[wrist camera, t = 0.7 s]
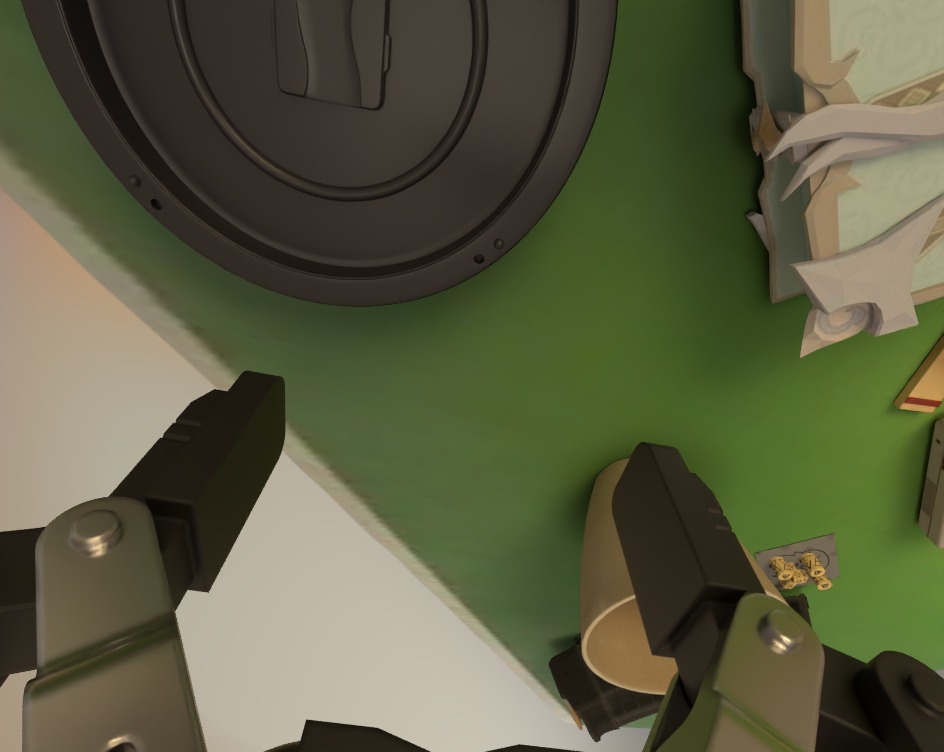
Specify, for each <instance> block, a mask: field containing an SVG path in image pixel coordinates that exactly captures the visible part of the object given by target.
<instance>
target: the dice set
mask: <svg viewBox="0 0 944 752" xmlns="http://www.w3.org/2000/svg"><path fill="white" fill-rule="evenodd" d="M800 561H801V562H802V564H803V566H804V567H805V569H806V570H807V572H806V571H805V570H801V569H798V568H797V567H796V565H795V564H794V562H793V561H792V562H790V563H787V562H786V561H785V559H784V558H782V557H781V556H776V557H774V558H772V559H771V560H770V561H769V564H770V566H771V568H772V570H773V571H774V573H775V575H776V576H777V578H778V579H779V582H780V584H781V586H782V587H783V588H784V589H792V588H795V586H796V585H800V586H803V585H804V584H805V583H806V582H807V581H808V580H809V578H811V580H812V581H813V583H815V584H816V586H817V587H818V589H819V590H825V589H828V588H830V587H831V586H832V584H831V582H830V581H829V578H828V576H827V575H826V574H825V572H826V570H825V568H824V567H823V565H822V564H821V562H820V561H819V559H818V558H817V557H816V555H815V554H813V553H806V554H804V555H802V556H801V558H800Z"/></svg>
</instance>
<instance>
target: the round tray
mask: <svg viewBox="0 0 944 752" xmlns="http://www.w3.org/2000/svg"><path fill="white" fill-rule="evenodd" d="M21 2H22V5H23V8H24V11H25V14H26V17H27V20H28V23H29V25H30V28H31V31H32V34H33V36H34V38H35V41H36V43H37V46H38V48H39V51H40V53H41V55H42V58H43V60H44V62H45V64H46V66H47V69H48V71H49V73H50V75H51V77H52V79H53V81H54V83H55V85H56V87H57V89H58V91H59V92H60V94H61V96H62V98H63V100H64V102H65V104H66V105H67V107H68V109H69V110H70V112H71V114H72V115H73V117H74V119H75V120H76V122H77V124H78V125H79V127H80V128H81V130H82V131H83V133H84V135H85V136H86V137H87V139H88V140H89V142H90V143H91V145H92V146H93V148H94V149H95V150H96V152H97V153H98V154H99V156H100V157H101V159H102V160H103V161H104V163H105V164H106V165H107V166H108V168H109V169H110V170H111V171H112V173H113V174H114V175H115V176H116V177H117V179H118V180H119V181H120V182H121V183H122V184H123V186H124V187H125V188H126V189H127V190H128V191H129V192H130V193H131V194H132V196H133V197H134V198H135V199H136V200H137V201H138V202H139V203H140V204H141V205H142V206H143V207H144V208H145V209H146V210H147V211H148V212H149V213H150V214H151V215H152V216H153V217H155V218H156V219H157V220H158V221H159V222H160V223H161V224H162V225H163V226H165V227H166V228H167V229H168V230H169V231H170V232H172V233H173V234H174V235H175V236H177V237H178V238H179V239H180V240H182V241H183V242H184V243H186V244H187V245H188V246H190V247H191V248H192V249H194V250H195V251H197V252H198V253H200V254H201V255H203V256H204V257H206V258H207V259H209V260H210V261H212V262H213V263H215V264H217V265H219V266H220V267H222V268H224V269H225V270H227V271H229V272H231V273H233V274H235V275H237V276H239V277H241V278H243V279H245V280H247V281H249V282H251V283H254V284H256V285H258V286H261V287H263V288H266V289H268V290H271V291H274V292H277V293H280V294H283V295H286V296H290V297H293V298H297V299H301V300H305V301H310V302H315V303H321V304H328V305H337V306H352V307H369V306H383V305H392V304H398V303H404V302H408V301H413V300H417V299H421V298H424V297H427V296H430V295H434V294H436V293H439V292H442V291H444V290H447V289H449V288H451V287H454V286H456V285H458V284H460V283H462V282H464V281H466V280H468V279H469V278H471V277H473V276H475V275H476V274H478V273H480V272H481V271H483V270H484V269H486V268H487V267H489V266H490V265H492V264H493V263H494V262H496V261H497V260H498V259H500V258H501V257H502V256H504V255H505V254H506V253H507V252H508V251H510V250H511V249H512V248H513V247H514V246H515V245H516V244H517V243H518V242H519V241H520V240H521V239H522V238H524V237H525V236H526V234H527V233H528V232H529V231H530V230H531V229H532V228H533V227H534V226H535V225H536V224H537V222H538V221H539V220H540V219H541V218H542V216H543V215H544V214H545V213H546V211H547V210H548V209H549V207H550V206H551V205H552V203H553V202H554V200H555V199H556V197H557V196H558V195H559V193H560V191H561V190H562V188H563V187H564V185H565V183H566V182H567V180H568V178H569V177H570V175H571V173H572V171H573V169H574V168H575V166H576V164H577V162H578V160H579V158H580V156H581V154H582V151H583V149H584V147H585V145H586V142H587V140H588V138H589V135H590V132H591V130H592V127H593V125H594V122H595V119H596V116H597V113H598V110H599V107H600V104H601V100H602V97H603V93H604V90H605V85H606V81H607V77H608V73H609V68H610V63H611V58H612V52H613V45H614V39H615V30H616V21H617V8H618V0H21Z"/></svg>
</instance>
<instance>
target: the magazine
mask: <svg viewBox="0 0 944 752" xmlns="http://www.w3.org/2000/svg"><path fill="white" fill-rule="evenodd" d="M783 598H784V599H785V601H786V602H787V604H788V605H789V606H790V607H791V608H792V609H794V610H795V611H796V612H797V613H798V614H800V615H801V616H802V617H803V618H804V619H805V620H806V622H807V623H808V624H809V625H810V626H811V627H812V625H811V621H810V616H809V612H808V608H809V606H808V601H807V597H806V596H805V595H804V594H799V596H788V597H783ZM574 640H575V642H576V644H577V645H575V646H573V647H571V648H570V649H568V650H566V651H564V652H562V653H560V654H558V655H556V656H555V657H553V658H552V659H551V660H550V662H549V668H550V670H551V673H552V675H553V678H554V681H555V683H556V686H557V689H558V691H559V694H560V696H561V698H562V699H564V701H565V703H566V705H567V707H568V709H569V711H570V713H571V715H572V717H573V719H574V721H575V723H576V724H577V725H578V727H579V729H580V730H582V725H581V720H580V718H581V719H582V720H583V722H584V723H585V725H586V727H587V729H588V732H589V734H590V736H591V737H592V739H593V740H594V741H595V742H598V741H600V737H601V735H603V734H604V733H606V732H609V731H612V730H616V729H619V727H621V726H623V725H625V724H628V723H630V722H633V721H635V720H638V719H641V718H643V717H646V716H649V715H652V714H655V713H658V711H659V709H660V706H661V704H662V701H663V699H664V696H665V695H663V694H649V693H642V692H636V691H631V690H628V689H624V688H621V687H618V686H616V685H613V684H611V683H609V682H607V681H605V680H604V679H602V678H601V677H599V676H598V675H596V674H595V673H594V672H593V671H592V670H591V669H590V668H589V667H588V665H587V664H586V662H585V660H584V658H583V655H582V649H581V642H580V641H579V640H578V639H577V638H574Z"/></svg>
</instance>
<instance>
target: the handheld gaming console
mask: <svg viewBox="0 0 944 752" xmlns="http://www.w3.org/2000/svg"><path fill="white" fill-rule="evenodd" d="M918 525H919V526H920V528H921V529H922V531H923V532H924V533H925V535H926V536H927V537H928V538H929V539H930V540H931V541H932V542H933V543H934V544H935V545H936V546H937V547H939V548H942V547H944V418H942V419H939V420H937V421H936V423H935V427H934V433H933V439H932V445H931V450H930V456H929V462H928V468H927V474H926V480H925V486H924V491H923V497H922V504H921V509H920V517H919V524H918Z"/></svg>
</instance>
